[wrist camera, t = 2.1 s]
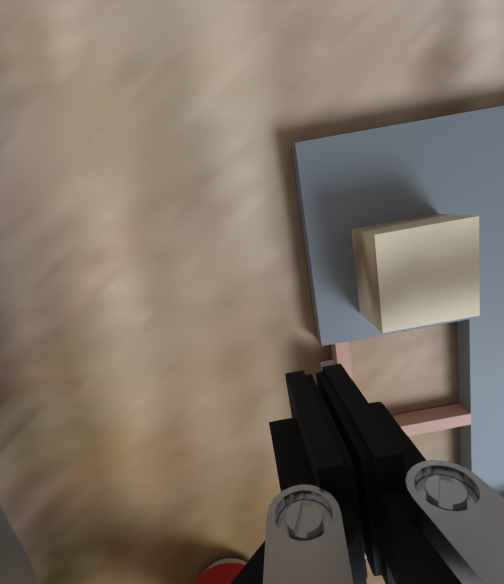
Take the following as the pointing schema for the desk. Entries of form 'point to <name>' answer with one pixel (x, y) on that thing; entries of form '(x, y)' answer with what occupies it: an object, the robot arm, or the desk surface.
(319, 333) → the box
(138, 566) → the desk surface
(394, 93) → the desk surface
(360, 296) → the wooden block
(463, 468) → the robot arm
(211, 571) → the beverage can
